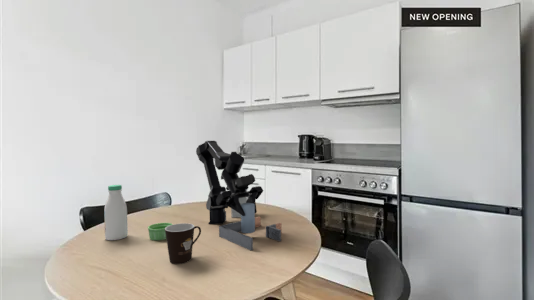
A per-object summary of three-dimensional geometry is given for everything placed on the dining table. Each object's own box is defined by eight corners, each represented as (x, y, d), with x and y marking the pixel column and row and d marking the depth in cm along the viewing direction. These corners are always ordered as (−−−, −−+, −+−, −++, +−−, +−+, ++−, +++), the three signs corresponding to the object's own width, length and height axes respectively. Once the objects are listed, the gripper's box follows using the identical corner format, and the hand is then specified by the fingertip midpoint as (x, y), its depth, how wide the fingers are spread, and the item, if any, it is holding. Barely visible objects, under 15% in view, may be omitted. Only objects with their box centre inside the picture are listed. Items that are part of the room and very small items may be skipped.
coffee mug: (168, 268, 83) (167, 233, 83) (163, 257, 90) (162, 225, 90) (208, 259, 88) (207, 227, 88) (200, 250, 96) (200, 220, 96)
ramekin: (143, 237, 110) (143, 226, 110) (166, 232, 117) (165, 221, 117) (155, 243, 104) (154, 230, 104) (177, 236, 111) (177, 225, 111)
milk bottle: (132, 235, 113) (130, 184, 112) (114, 241, 106) (112, 187, 105) (118, 233, 116) (117, 183, 115) (100, 239, 109) (98, 186, 108)
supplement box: (246, 217, 137) (246, 190, 136) (231, 217, 137) (230, 191, 137) (248, 213, 144) (247, 188, 144) (233, 213, 144) (232, 188, 144)
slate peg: (240, 233, 105) (240, 205, 105) (242, 228, 110) (242, 202, 110) (254, 233, 105) (253, 205, 104) (255, 229, 110) (255, 202, 109)
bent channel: (251, 250, 95) (250, 238, 95) (219, 236, 110) (218, 225, 110) (293, 236, 108) (293, 226, 108) (259, 225, 123) (259, 216, 123)
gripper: (219, 169, 103) (238, 205, 95) (260, 165, 115) (279, 197, 107) (209, 188, 109) (225, 223, 102) (248, 183, 122) (265, 214, 114)
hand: (250, 214), depth 106 cm, fingers closed on slate peg, 5 cm apart
